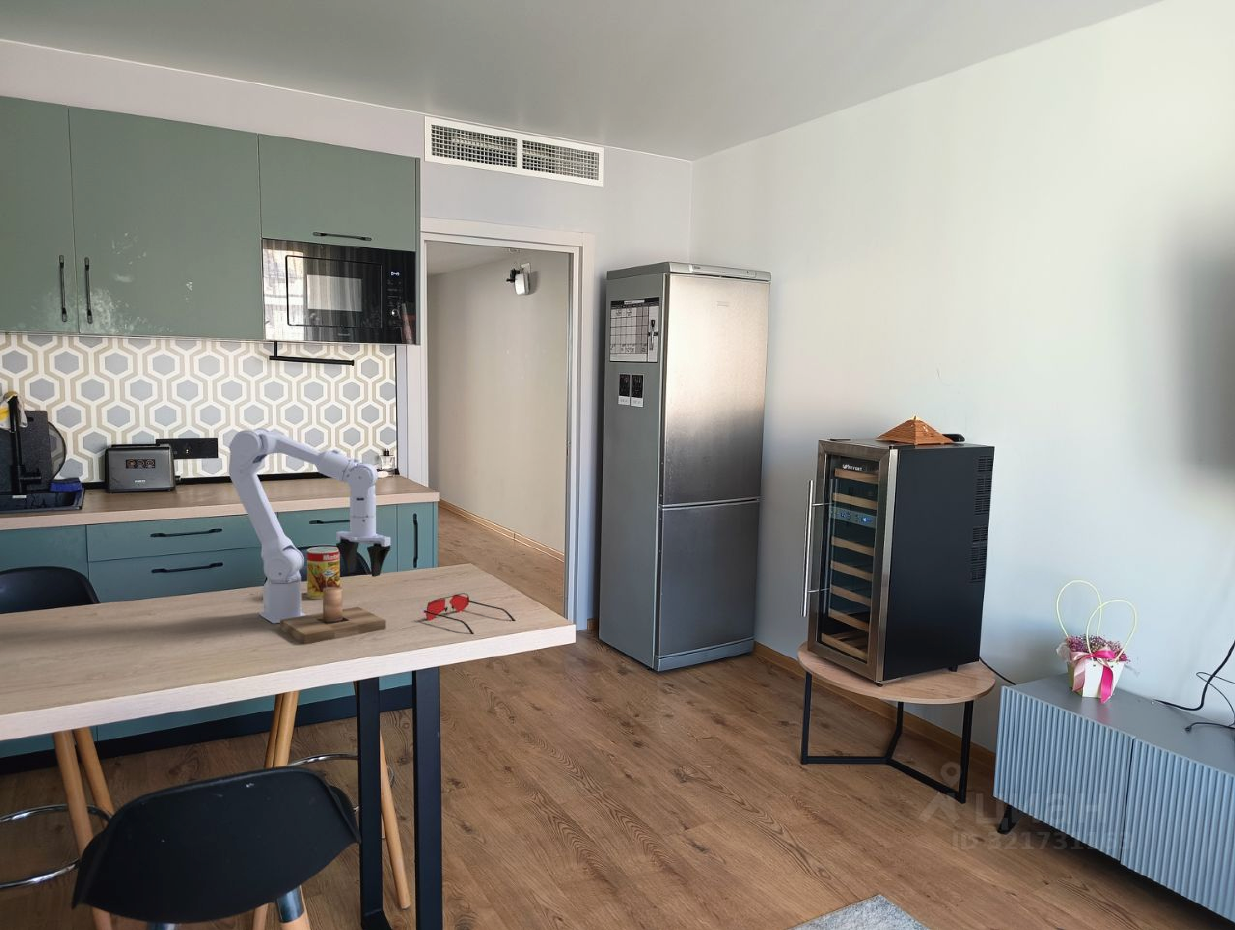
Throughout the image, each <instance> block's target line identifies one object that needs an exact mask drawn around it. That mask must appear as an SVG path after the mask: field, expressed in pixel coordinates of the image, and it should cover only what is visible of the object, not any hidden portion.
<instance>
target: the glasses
mask: <svg viewBox="0 0 1235 930" xmlns="http://www.w3.org/2000/svg"><path fill="white" fill-rule="evenodd" d="M463 595H465V596H463ZM449 598H451V599H450V600H449V601H448V603H449V604H450V605H451V609H452V610H456V611H457V612H458V613H461V612H463V611H464V610H465V609H466V608H467V607H468V606H469V603H470V604H471V603H472V604H476V605H478V606H479V605H480V606H485V607H488V608H493V609H497V610H500V611H502V612H504V613H506V615H507V616H508V617H509V618H510V619H511V621H513V622H516V619H515V618H514V617H513V616H512V615H511V613H509V612H508V611H507V610H506V609H504V608H502V607H498V606H493V605H489V604H485V603H480V602H477V601H473V600H470V597H469V594H467V593H465V592H463V593H459V594H458V593H457V594H456V593H455V594H452V595H451V596H450V595H449V596H446V597H442V598H441V597H439V598H438V599H435V600H432V601H428V603H427V607H426V609H424V610H422V611H423V613H424V614H425V617H426V618H427V619H428V620H429V621H431V620H433V619H434V618H435V617H436V616H437V617H441V618H445V619H449V620H452V621H456V622H459V623H462V624H463V625H464V626H465V627H466V628H467V630H468V632H469V633H470V634H471V635H475V633H474V632H473V630H472V629H471V628H470V626H469V625H468V623H466V622H465V621H464V620H462V619H459V618H455V617H452V616H448V615H447V616H446V615H442V614H441V613H442V612H445V613H446V612H447V611H448V608H449V607H448V606H446V599H449ZM460 611H461V612H460Z"/></svg>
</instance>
